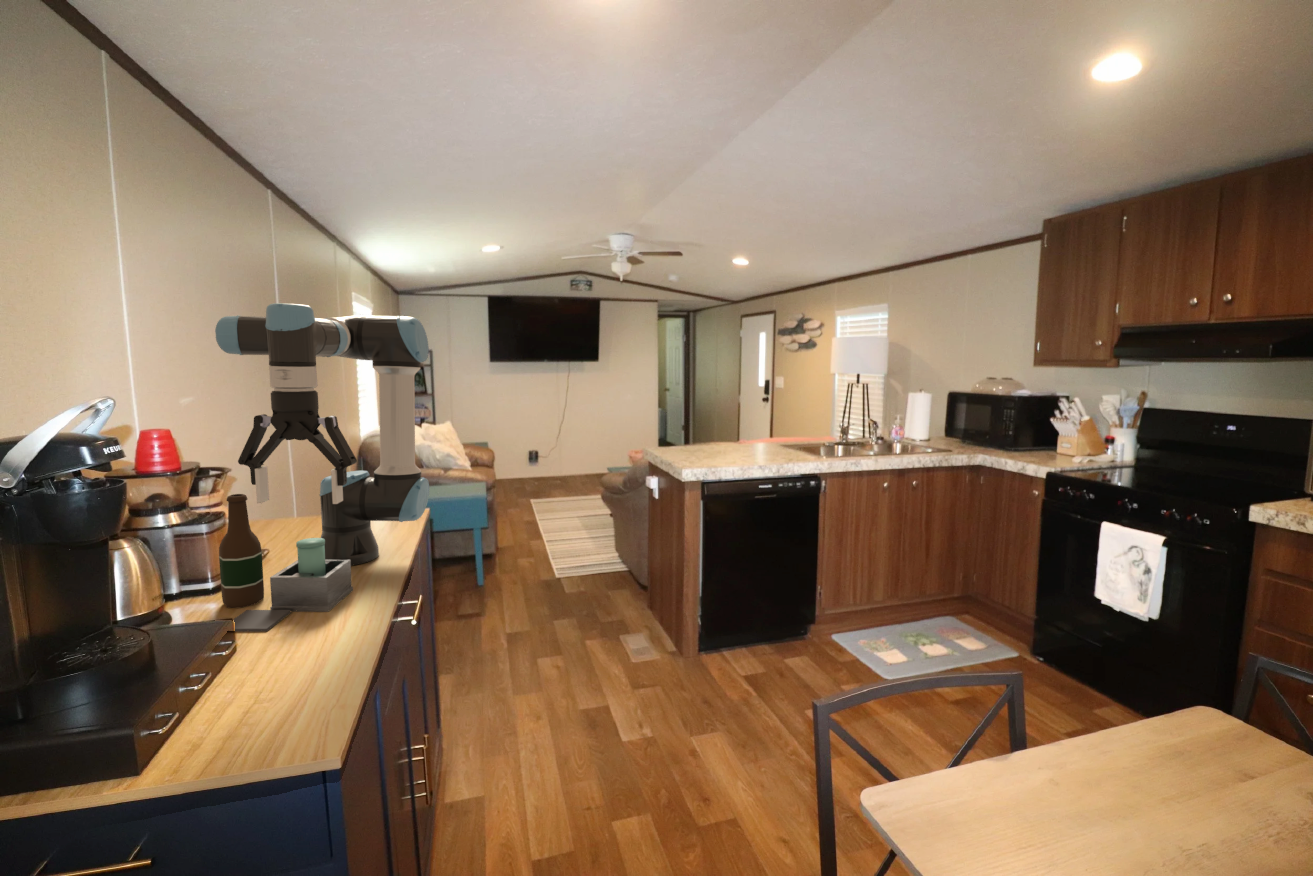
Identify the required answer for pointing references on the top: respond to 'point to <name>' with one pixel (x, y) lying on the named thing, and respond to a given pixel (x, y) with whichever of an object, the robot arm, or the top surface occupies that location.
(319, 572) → the green upright cylinder
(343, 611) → the top surface
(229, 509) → the beer bottle
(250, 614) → the pad
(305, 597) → the grey storage bin
